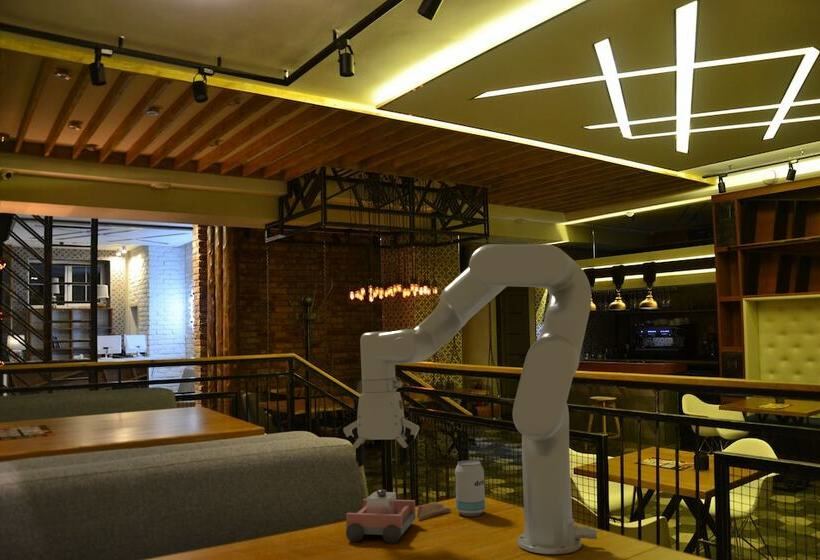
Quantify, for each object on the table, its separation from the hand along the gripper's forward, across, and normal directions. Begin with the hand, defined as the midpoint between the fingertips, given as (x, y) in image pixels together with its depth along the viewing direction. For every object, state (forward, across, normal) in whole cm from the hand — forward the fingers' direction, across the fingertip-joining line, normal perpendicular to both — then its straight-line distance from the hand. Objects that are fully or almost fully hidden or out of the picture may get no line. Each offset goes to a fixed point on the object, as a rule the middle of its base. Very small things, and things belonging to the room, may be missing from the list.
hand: (382, 465), depth 147 cm
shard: (+15, -7, -17) cm, 24 cm away
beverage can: (+15, -16, -18) cm, 28 cm away
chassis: (+14, +1, 0) cm, 15 cm away
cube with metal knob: (+12, +1, 0) cm, 12 cm away
